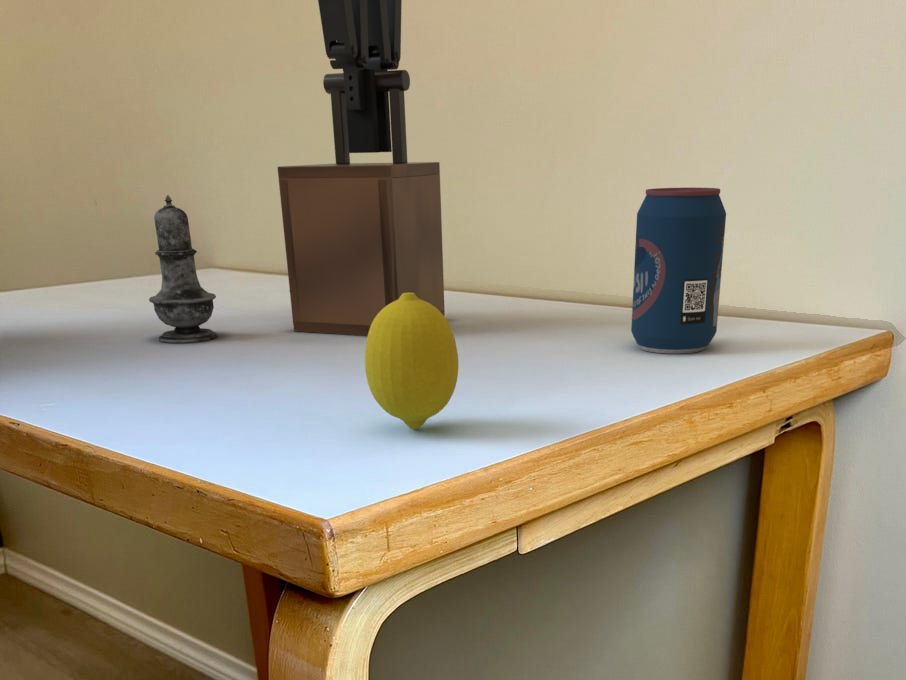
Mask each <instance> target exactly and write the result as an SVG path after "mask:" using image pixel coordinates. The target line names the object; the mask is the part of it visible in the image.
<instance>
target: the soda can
mask: <svg viewBox="0 0 906 680" xmlns="http://www.w3.org/2000/svg"><path fill="white" fill-rule="evenodd" d="M720 194H721V189H720V188H718V187H657V188H648V189H645V197H644V199H643V201H642V203H641V204H640V207H639V208H638V211H637V213H636V226H635V246H634V247H635V248H634V266H633V267H634V268H633V285H632V286H633V288H632V305H631V306H632V307H631V308H632V309H631V327H630V331H631V334H632V337H633V338H634V340H635V343H636V344H637V346H638V348H639V349H640V350H642V351H646V352H649V353H656V354H671V355H672V354H674V355H675V354H676V355H677V354H692V353H698V352H703V351H705V350H706V349H707V348H708V346H709V345H710V344H711V342H712V340H713V339H714V338H715V336H716V334H717V330H718V317H719V306H720V294H721V293H720V292H721V284H722V283H721V282H722V270H723V269H722V268H723V260H724V259H723V256H724V246H725V233H726V221H727V212H726V209H725V206H724V203H723V201H722V198H721V196H720Z"/></svg>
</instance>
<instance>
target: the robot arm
mask: <svg viewBox="0 0 906 680" xmlns="http://www.w3.org/2000/svg"><path fill="white" fill-rule="evenodd" d="M317 2H318V3H317V4H318V8H319V16H320V21H321V29H322V35H323V43H324V48H325V50H324V51H325V54H326V57H327V58H328V59H329V65H330V67H331V69H333V70H342V73H343V75H344V89H345V103H346V114H347V129H348V143H349V154H369V153H370V154H371V153H372V154H377V153H391V152H392V136H391V117H390V99H389V92H376V85H375V71H392V70H399V69H398V68H399V66H400V62H401V55H402V53H401V51H402V45H401V44H402V2H403V1H402V0H317Z"/></svg>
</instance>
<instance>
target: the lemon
mask: <svg viewBox="0 0 906 680" xmlns="http://www.w3.org/2000/svg"><path fill="white" fill-rule="evenodd" d="M364 350H365V351H364V367H365V368H364V370H365V376H366V381H367V384H368V387H369V390H370V393H371V395H372V397H373V399H374V400H375V402H376V403H377V404H378V405H379V407H381V408H382V410H384V412H386V413H387V414H388V415H390V416H391V417H394V418H397V419H399V420H401V421H402V423H404V424H405V426H407V427H408V428H409V429H411V430H418V429H420V428H422V426H423V425H424V424H425V423H426V422H427V420H428V419H430V418H431V417H434V416H436V415H437V414H439V413H440V412H441V411H442V410H443V409H445V407H446V406H447V405H448V403H449V402H450V400H451V398H452V396H453V394H454V392H455V389H456V386H457V382H458V376H459V353H458V347H457V342H456V338H455V335H454V332H453V329H452V327H451V324H450V323H449V321H448V319H447V318H446V316H445V317H444V315H443V314H442V313H441V312H440V311H439V310H438V309H437V308H436V307H434V306H433V305H431V304H430V303H428V302H426V301H423V300H421V299H418V297H417V296H416V295H415V294H414V293H410V292H407V293H403V294H402V295H401V296H400V298H399V299H398V300H396V301H394V302H392V303H390V304H388V305H387V306H386V307H384V308H383V309H382V310H381V311H380V312H379V313H378V314H377V316H376V317H375V318H374V320H373V322H372V324H371V327H370V330H369V333H368V336H366V342H365V349H364Z"/></svg>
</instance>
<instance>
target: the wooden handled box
mask: <svg viewBox="0 0 906 680" xmlns="http://www.w3.org/2000/svg"><path fill="white" fill-rule="evenodd" d="M322 85H323V90H324V91H325V93H326V94H327V95H330V105H331V114H332V115H331V116H332V117H331V118H332V128H333V129H332V130H333V143H334V157H335V163H321V164H301V165H284V166H283V165H282V166H277V176H278V187H279V188H278V189H279V197H280V207H281V216H282V217H281V219H282V228H283V237H284V247H285V254H286V255H285V256H286V257H285V259H286V266H287V276H288V287H289V298H290V306H291V316H292V317H291V318H292V324H293V327H292V328H293V332H302V333H316V334H317V333H318V334H332V335H333V334H335V335H350V336H365V337H368V333H369V330H370V327H371V324H372V322H373V320H374V318H375V317H376V316H377V314H378V313H379V312H380V311H381V310H382V309H383V308H384V307H386V306H387V305H388V304H390V303H392V302H394V301H396V300H398V299H399V298H400V296H401V295H402V294H403V293H407V292H410V293H414V294H415V295H416V296H417V297H418V299H421V300H423V301H426V302H428V303H430V304H431V305H433V306H434V307H436V308H437V309H438V310H439V311H440V312H441V313H442V314H443V315H444V317H445V318H446V315H445V314H446V313H445V280H444V255H443V253H444V252H443V250H444V249H443V226H442V225H443V224H442V222H443V221H442V196H441V195H442V194H441V192H442V191H441V166H440V165H441V164H440V162H439V161H422V162H421V161H419V162H417V161H416V162H413V161H411V162H408V145H407V144H408V143H407V125H406V104H405V103H406V102H405V92H407V91H408V90H410V86H411V77H410V73H409V72H408V70H406V69H396V70H387V71H375V85H376V92H388V93H389V111H390V130H391V148H392V153H391V154H392V162H351V157H350V156H351V155H350V154H351V153H349V143H348V129H347V114H346V103H345V89H344V75H343V72H337V73H336V72H335V73H326V74H325V75H324V77H323V79H322Z"/></svg>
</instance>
